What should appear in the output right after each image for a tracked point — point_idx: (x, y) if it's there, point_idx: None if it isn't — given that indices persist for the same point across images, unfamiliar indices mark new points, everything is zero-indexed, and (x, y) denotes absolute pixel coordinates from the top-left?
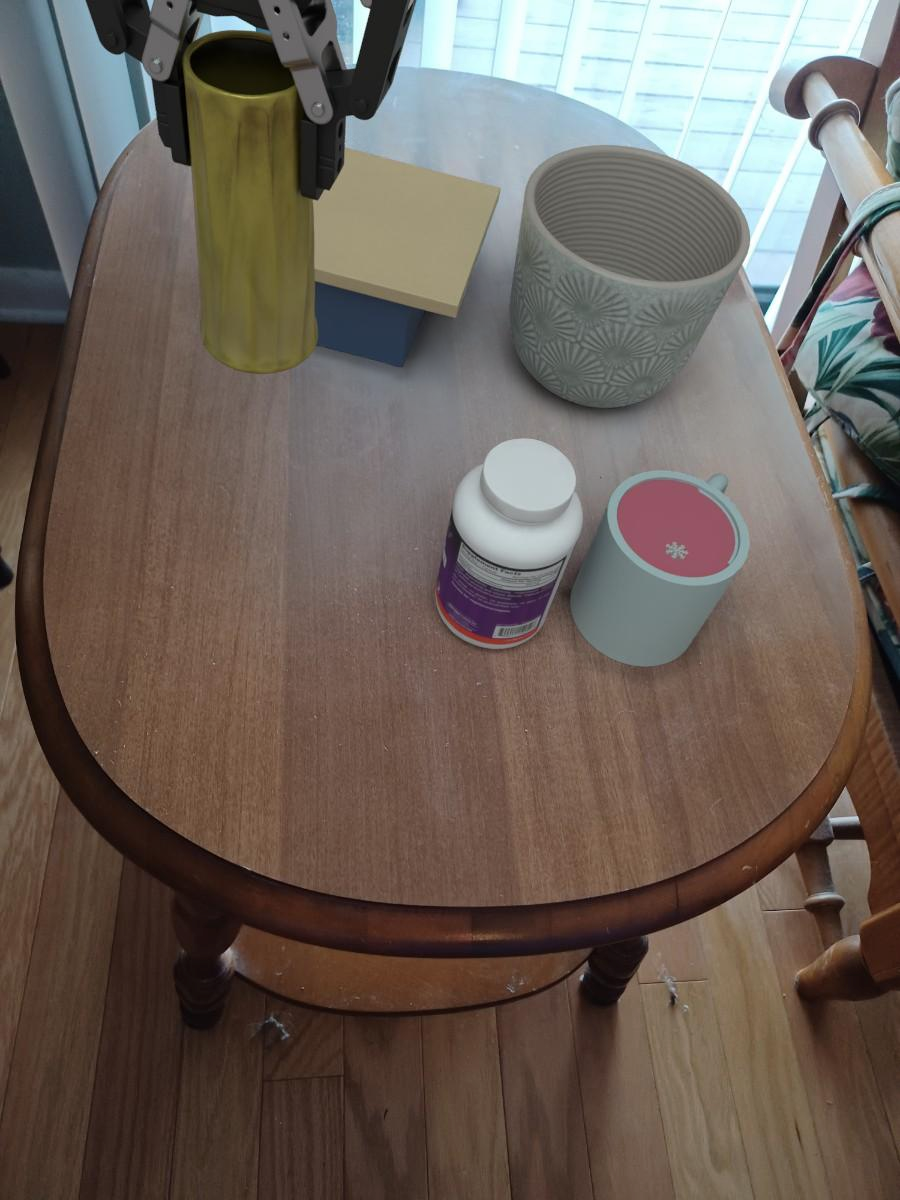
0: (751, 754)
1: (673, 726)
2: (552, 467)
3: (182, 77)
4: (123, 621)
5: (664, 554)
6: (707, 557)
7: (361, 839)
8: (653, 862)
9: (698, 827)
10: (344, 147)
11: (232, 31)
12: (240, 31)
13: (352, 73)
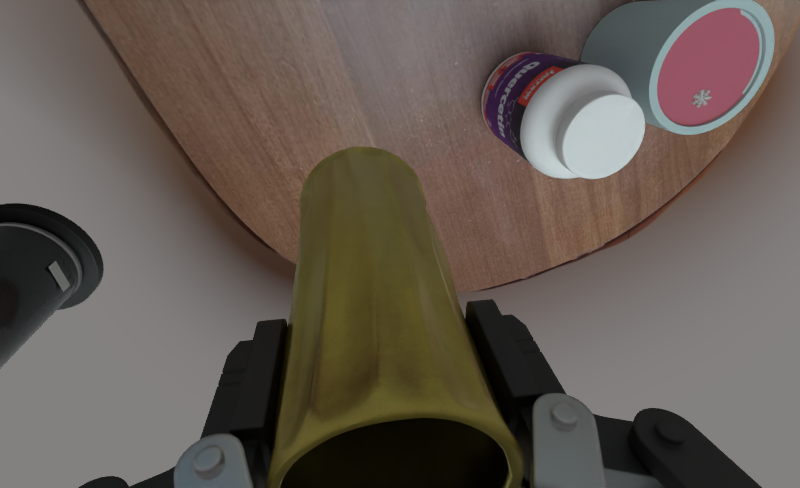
0: (689, 145)
1: (642, 144)
2: (624, 124)
3: (266, 468)
4: (286, 203)
5: (690, 105)
6: (726, 94)
7: (469, 267)
8: (618, 227)
9: (646, 200)
10: (536, 345)
11: (315, 446)
12: (331, 437)
13: (624, 484)
